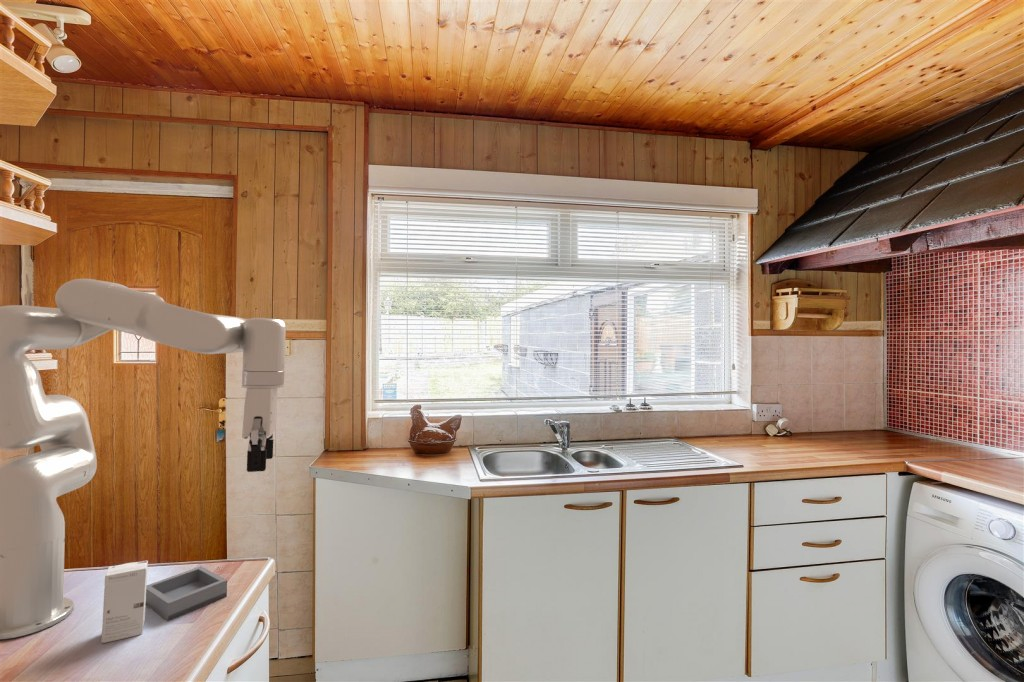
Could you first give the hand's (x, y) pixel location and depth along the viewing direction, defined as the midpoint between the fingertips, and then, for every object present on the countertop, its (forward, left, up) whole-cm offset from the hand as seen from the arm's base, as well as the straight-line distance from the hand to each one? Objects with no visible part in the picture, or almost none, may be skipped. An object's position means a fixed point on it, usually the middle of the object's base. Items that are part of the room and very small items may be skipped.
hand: (260, 464), depth 97 cm
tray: (-16, -6, -30) cm, 34 cm away
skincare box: (-13, -17, -30) cm, 37 cm away
